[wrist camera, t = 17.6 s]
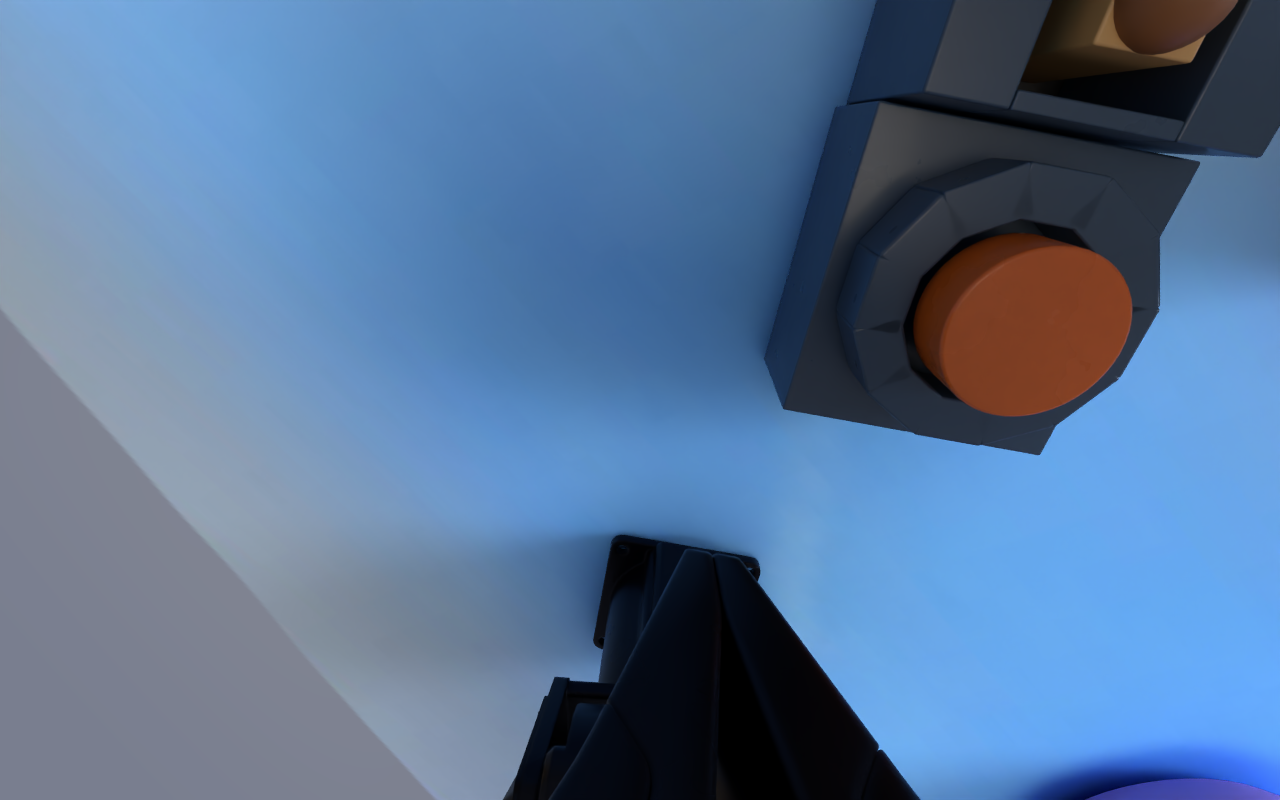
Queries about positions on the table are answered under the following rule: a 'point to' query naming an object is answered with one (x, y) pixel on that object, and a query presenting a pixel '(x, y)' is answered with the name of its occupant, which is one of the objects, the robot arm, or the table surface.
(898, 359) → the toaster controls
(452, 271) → the table surface
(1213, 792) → the teapot
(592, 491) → the table surface
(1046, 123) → the toaster
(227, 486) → the table surface
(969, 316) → the button
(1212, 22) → the tan slab
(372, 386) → the table surface
